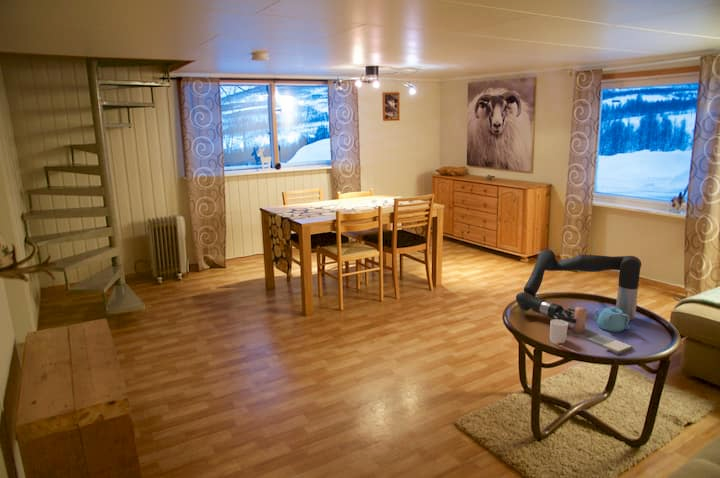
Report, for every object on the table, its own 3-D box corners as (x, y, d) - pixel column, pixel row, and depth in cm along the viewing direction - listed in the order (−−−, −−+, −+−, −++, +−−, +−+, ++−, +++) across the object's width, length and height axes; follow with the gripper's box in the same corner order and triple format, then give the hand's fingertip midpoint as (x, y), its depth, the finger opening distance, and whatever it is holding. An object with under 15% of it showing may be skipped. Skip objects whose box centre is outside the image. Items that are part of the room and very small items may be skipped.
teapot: (622, 340, 240) (625, 317, 237) (587, 330, 251) (589, 308, 248) (635, 328, 254) (637, 306, 251) (600, 319, 265) (603, 298, 262)
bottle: (577, 328, 250) (579, 306, 248) (586, 332, 246) (589, 309, 243) (570, 330, 248) (572, 308, 245) (579, 334, 243) (582, 311, 241)
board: (579, 328, 253) (579, 325, 253) (632, 349, 230) (633, 345, 230) (563, 333, 247) (563, 330, 247) (617, 355, 224) (617, 351, 224)
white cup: (566, 340, 240) (568, 320, 237) (565, 346, 233) (567, 326, 230) (549, 337, 243) (551, 318, 241) (547, 343, 236) (549, 324, 234)
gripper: (558, 313, 263) (587, 323, 250) (542, 320, 255) (571, 330, 242) (559, 300, 261) (589, 309, 248) (543, 306, 253) (573, 315, 240)
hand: (580, 319), depth 245 cm, fingers open, 8 cm apart
